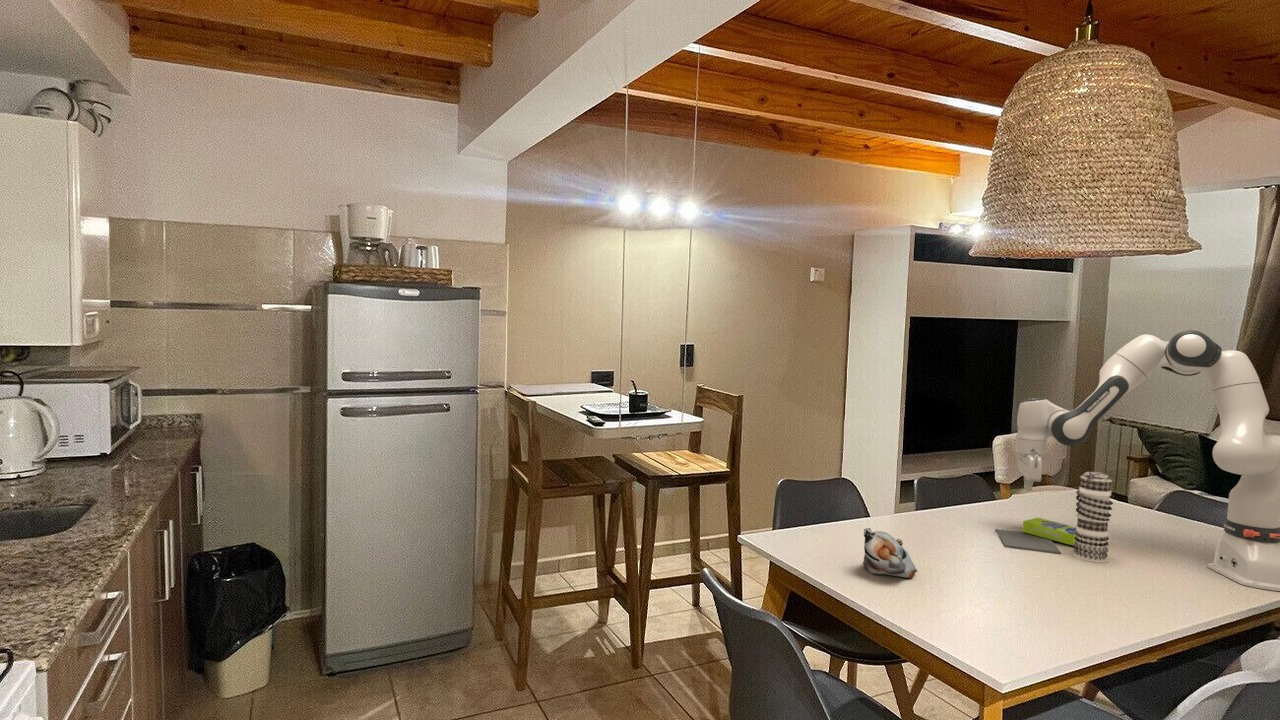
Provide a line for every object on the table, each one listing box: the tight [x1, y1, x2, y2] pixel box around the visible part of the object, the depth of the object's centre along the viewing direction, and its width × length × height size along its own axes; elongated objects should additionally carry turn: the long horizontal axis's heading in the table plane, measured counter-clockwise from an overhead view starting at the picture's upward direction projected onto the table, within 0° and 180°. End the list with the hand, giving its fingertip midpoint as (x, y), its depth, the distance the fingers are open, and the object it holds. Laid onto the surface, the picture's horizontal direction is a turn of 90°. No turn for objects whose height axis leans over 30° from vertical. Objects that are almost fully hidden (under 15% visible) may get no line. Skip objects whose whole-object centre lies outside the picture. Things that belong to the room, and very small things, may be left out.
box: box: [1021, 517, 1077, 547], centre depth 228 cm, size 10×4×17 cm
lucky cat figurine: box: [862, 527, 918, 580], centre depth 188 cm, size 15×12×14 cm
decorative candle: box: [1072, 471, 1114, 564], centre depth 209 cm, size 9×9×25 cm
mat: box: [995, 528, 1062, 555], centre depth 224 cm, size 19×15×1 cm
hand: (1028, 490), depth 231 cm, fingers closed
